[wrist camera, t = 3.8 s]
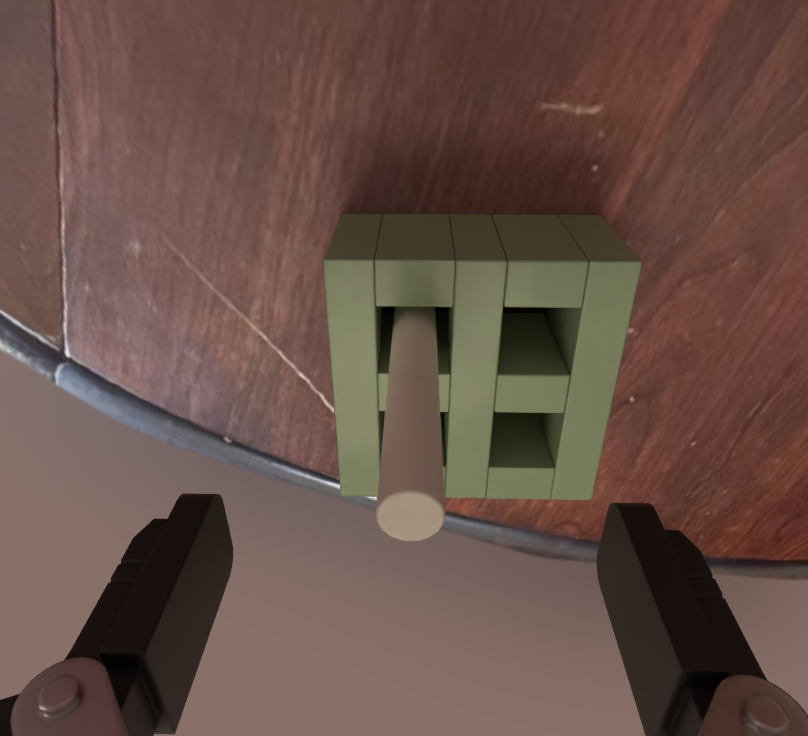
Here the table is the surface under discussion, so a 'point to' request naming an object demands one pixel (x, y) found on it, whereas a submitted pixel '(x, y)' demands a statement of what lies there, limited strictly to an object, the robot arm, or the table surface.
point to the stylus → (412, 431)
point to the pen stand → (484, 343)
